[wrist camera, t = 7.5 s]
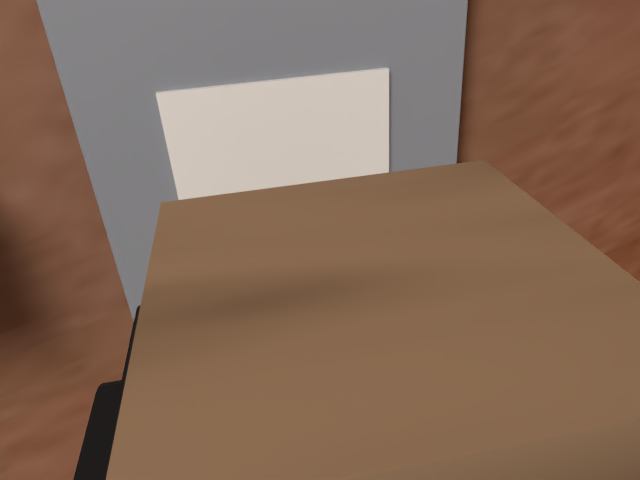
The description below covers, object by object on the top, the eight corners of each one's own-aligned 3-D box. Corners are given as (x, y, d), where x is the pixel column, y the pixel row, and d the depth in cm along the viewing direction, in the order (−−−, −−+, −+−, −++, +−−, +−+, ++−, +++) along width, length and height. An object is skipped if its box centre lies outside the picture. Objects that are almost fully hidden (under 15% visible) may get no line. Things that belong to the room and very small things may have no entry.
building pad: (436, 308, 23) (447, 325, 22) (151, 356, 21) (148, 377, 20) (458, -69, 16) (475, -69, 15) (36, -38, 14) (23, -37, 13)
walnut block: (461, 389, 13) (627, 683, 8) (216, 434, 12) (219, 794, 7) (484, 159, 10) (778, 390, 5) (160, 201, 9) (94, 530, 4)
